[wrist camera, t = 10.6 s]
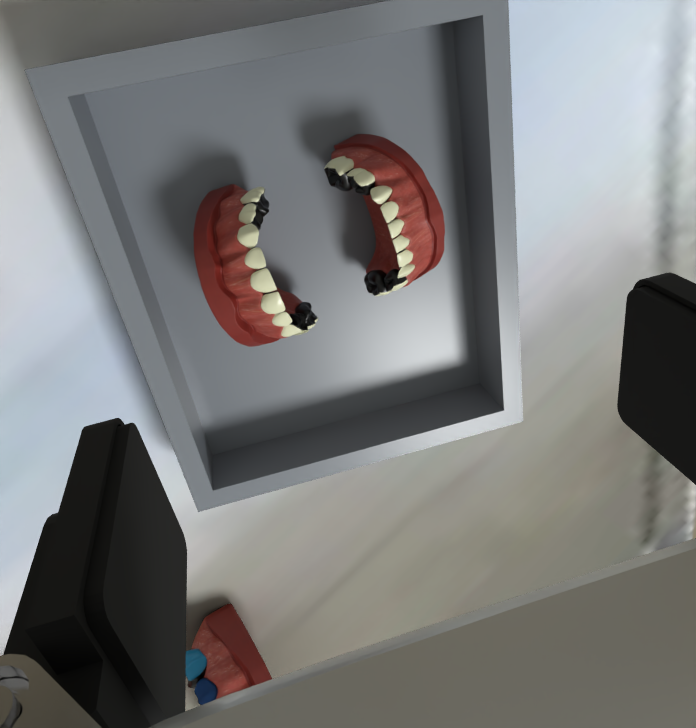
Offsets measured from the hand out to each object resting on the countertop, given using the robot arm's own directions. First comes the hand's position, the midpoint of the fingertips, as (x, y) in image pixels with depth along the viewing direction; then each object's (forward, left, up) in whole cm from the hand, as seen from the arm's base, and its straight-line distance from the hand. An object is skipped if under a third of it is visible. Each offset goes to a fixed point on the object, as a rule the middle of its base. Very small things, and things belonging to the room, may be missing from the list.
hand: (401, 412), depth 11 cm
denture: (0, 0, -12) cm, 12 cm away
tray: (+1, 0, -13) cm, 13 cm away
